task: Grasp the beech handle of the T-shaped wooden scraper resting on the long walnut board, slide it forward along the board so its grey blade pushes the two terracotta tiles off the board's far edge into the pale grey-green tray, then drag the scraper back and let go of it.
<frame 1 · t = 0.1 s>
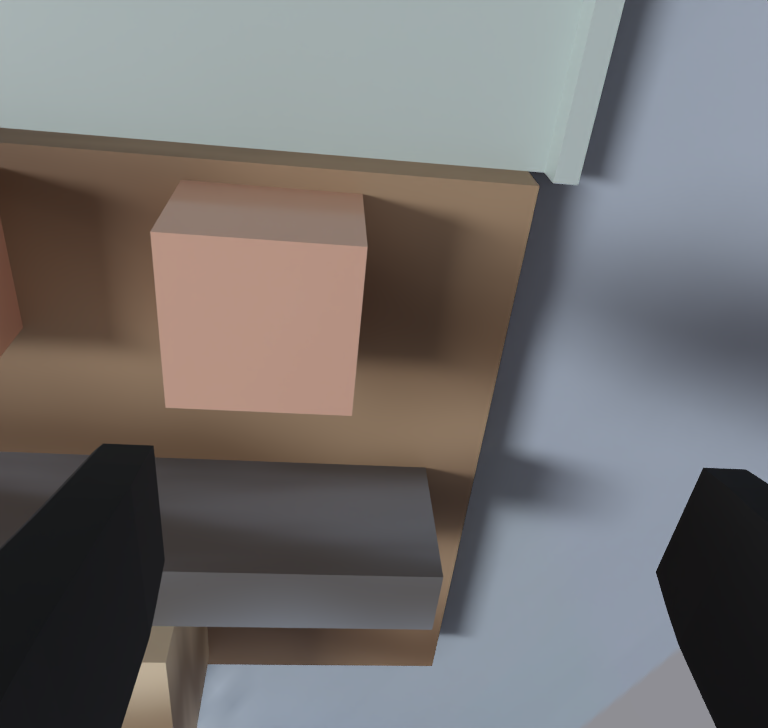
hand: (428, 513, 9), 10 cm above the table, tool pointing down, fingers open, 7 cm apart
board: (138, 436, 21), on the table
scraper: (140, 577, 22), point 1 cm above the table, touching board
tile a: (271, 269, 16), point 1 cm above the table, touching board
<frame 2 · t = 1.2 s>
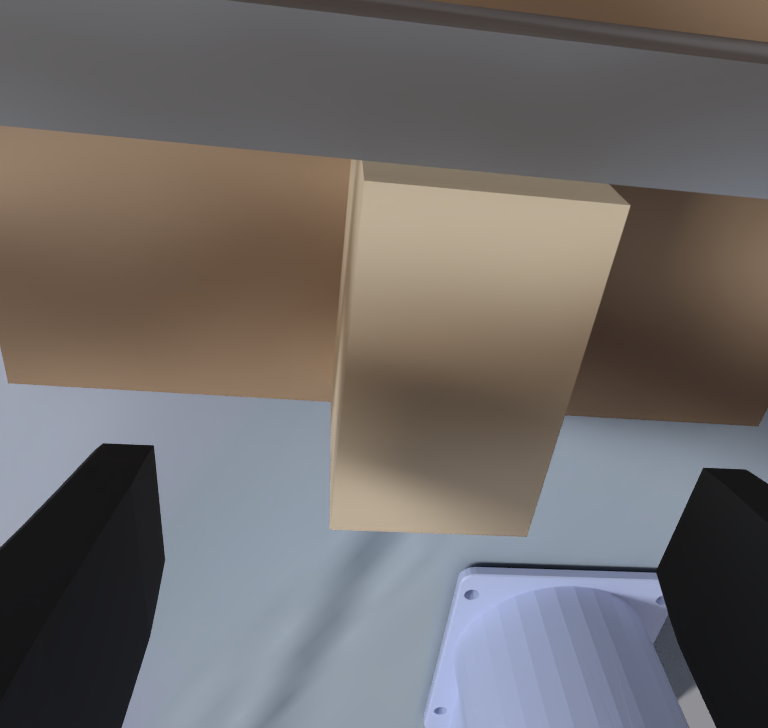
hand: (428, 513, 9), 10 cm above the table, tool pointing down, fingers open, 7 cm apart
board: (453, 24, 15), on the table
scraper: (430, 247, 16), point 1 cm above the table, touching board
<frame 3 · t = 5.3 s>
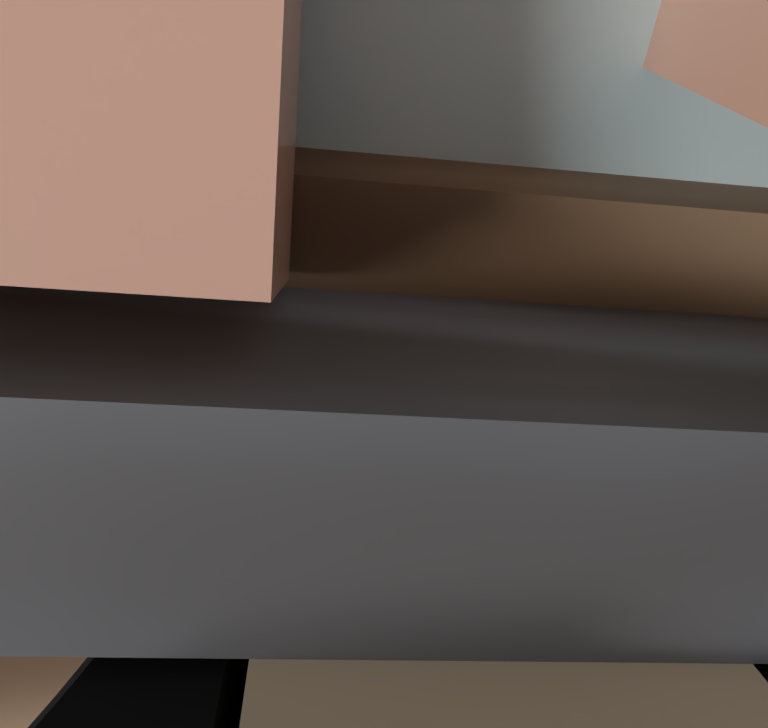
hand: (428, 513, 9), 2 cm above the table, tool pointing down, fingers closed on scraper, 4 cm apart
board: (382, 601, 14), on the table
scraper: (411, 634, 10), point 3 cm above the table, tilted 15°, touching board, gripper
tile b: (106, 75, 7), point 1 cm above the table, tilted 23°, touching board, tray
when the fingers open (2 cm above the table, at t = 7.9 s): scraper stays where it is, resting on board.
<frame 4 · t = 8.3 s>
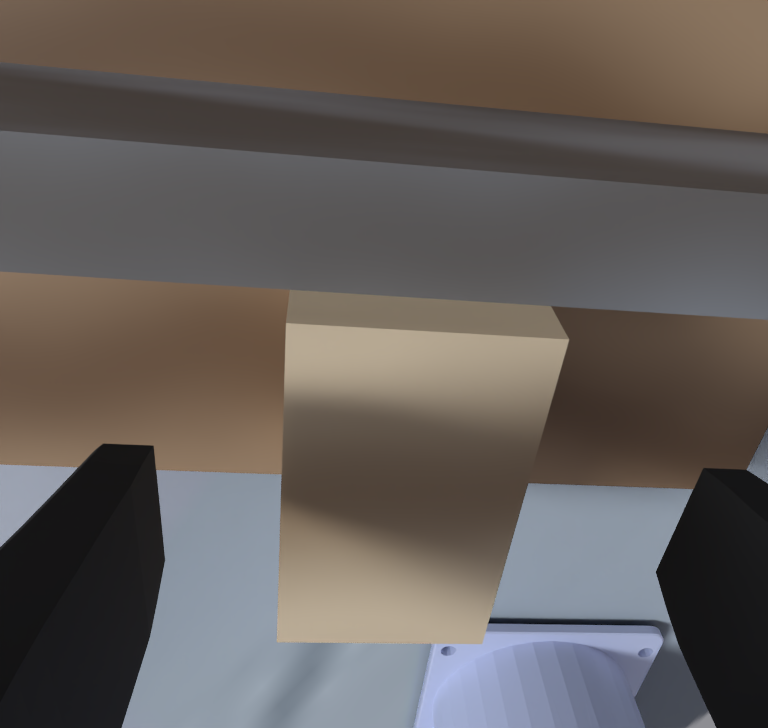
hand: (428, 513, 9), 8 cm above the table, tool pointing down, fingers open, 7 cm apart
board: (405, 97, 14), on the table
scraper: (386, 334, 15), point 1 cm above the table, touching board
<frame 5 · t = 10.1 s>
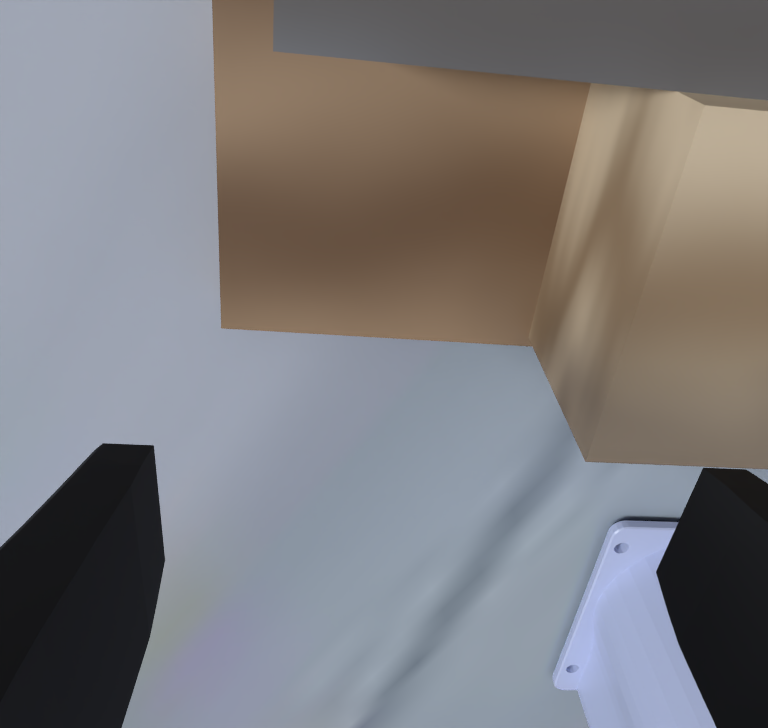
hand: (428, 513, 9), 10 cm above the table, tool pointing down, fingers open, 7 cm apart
scraper: (646, 197, 16), point 1 cm above the table, touching board
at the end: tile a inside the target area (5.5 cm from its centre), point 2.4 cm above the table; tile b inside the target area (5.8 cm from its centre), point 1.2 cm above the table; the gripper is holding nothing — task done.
